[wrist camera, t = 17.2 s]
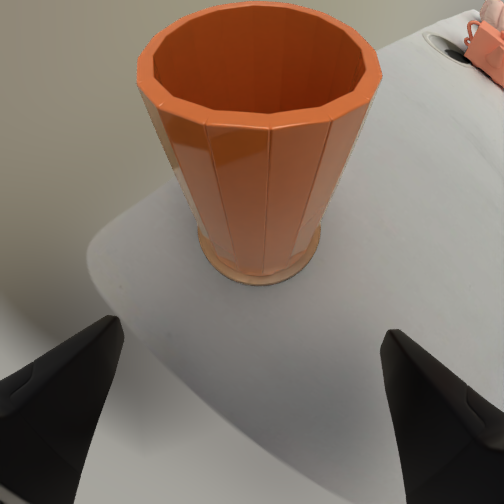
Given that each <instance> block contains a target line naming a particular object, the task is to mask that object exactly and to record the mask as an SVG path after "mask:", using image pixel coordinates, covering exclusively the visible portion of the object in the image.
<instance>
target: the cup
mask: <svg viewBox="0 0 504 504" xmlns="http://www.w3.org/2000/svg"><path fill="white" fill-rule="evenodd" d="M381 80H382V72H381V68H380V64H379V61H378V57H377V54H376V52H375V50H374V49H373V48H372V47H371V45H369V43H368V42H367V41H366V40H365V39H364V38H363V37H362V36H361V35H360V34H359V33H358V32H357V31H356V30H354V29H353V28H352V27H350V26H348V25H346V24H345V23H343V22H341V21H339V20H337V19H335V18H333V17H331V16H330V15H328V14H325V13H323V12H320V11H316V10H313V9H309V8H305V7H302V6H298V5H294V4H289V3H281V2H266V1H247V2H239V3H230V4H223V5H217V6H213V7H210V8H206V9H203V10H201V11H198V12H195V13H192V14H189V15H187V16H184V17H182V18H180V19H179V20H177V21H175V22H174V23H172V24H171V25H169V26H168V27H166V28H165V29H163V30H162V31H160V32H159V33H157V34H156V35H155V36H153V38H152V39H151V40H150V42H149V43H148V44H147V46H146V47H145V49H144V50H143V52H142V53H141V54H140V56H139V57H138V60H137V86H138V89H139V91H140V94H141V96H142V98H143V101H144V104H145V106H146V108H147V111H148V113H149V115H150V118H151V120H152V123H153V125H154V127H155V129H156V132H157V134H158V137H159V139H160V141H161V144H162V146H163V148H164V151H165V153H166V155H167V157H168V160H169V162H170V164H171V166H172V169H173V171H174V173H175V176H176V178H177V180H178V182H179V184H180V187H181V189H182V191H183V193H184V196H185V198H186V200H187V202H188V204H189V206H190V209H191V211H192V213H193V215H194V217H195V219H196V222H197V224H198V226H199V228H200V230H201V232H202V234H203V237H204V239H205V241H206V243H207V244H208V245H209V247H210V249H211V250H212V252H213V254H214V255H215V256H216V257H217V258H218V260H220V261H221V262H222V263H223V264H224V265H226V266H227V267H229V268H230V269H232V270H234V271H236V272H239V273H242V274H246V275H251V276H267V275H272V274H276V273H279V272H282V271H284V270H286V269H288V268H289V267H291V266H292V265H294V264H295V263H296V262H297V261H298V260H299V259H300V258H301V257H302V256H303V255H304V253H305V252H306V250H307V249H308V247H309V244H310V243H311V241H312V239H313V237H314V235H315V233H316V231H317V229H318V227H319V225H320V223H321V220H322V218H323V216H324V214H325V212H326V210H327V207H328V205H329V203H330V201H331V199H332V197H333V194H334V192H335V190H336V188H337V186H338V183H339V181H340V179H341V177H342V174H343V172H344V170H345V168H346V165H347V163H348V161H349V158H350V156H351V154H352V151H353V149H354V147H355V144H356V142H357V140H358V137H359V135H360V133H361V130H362V128H363V125H364V123H365V121H366V118H367V116H368V113H369V111H370V108H371V106H372V103H373V101H374V98H375V96H376V93H377V91H378V88H379V86H380V83H381Z"/></svg>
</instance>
